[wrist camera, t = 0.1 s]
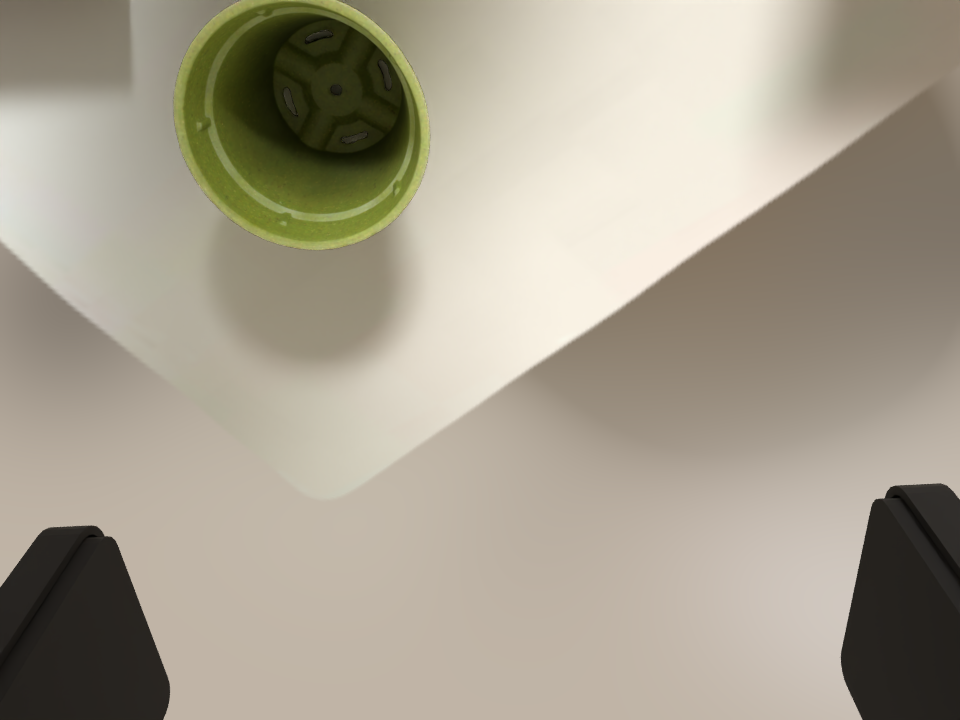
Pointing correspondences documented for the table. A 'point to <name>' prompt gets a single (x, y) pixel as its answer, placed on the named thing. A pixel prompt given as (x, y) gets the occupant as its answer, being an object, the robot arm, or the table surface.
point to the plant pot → (301, 122)
